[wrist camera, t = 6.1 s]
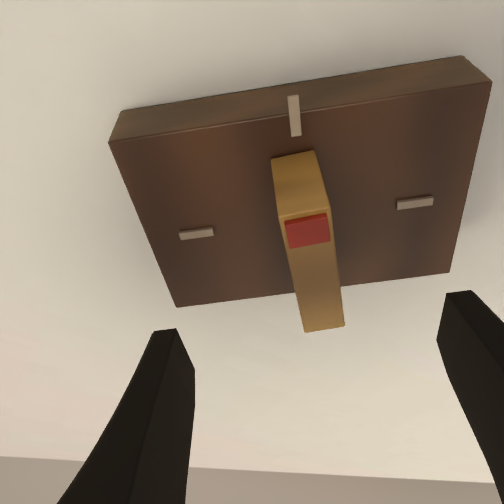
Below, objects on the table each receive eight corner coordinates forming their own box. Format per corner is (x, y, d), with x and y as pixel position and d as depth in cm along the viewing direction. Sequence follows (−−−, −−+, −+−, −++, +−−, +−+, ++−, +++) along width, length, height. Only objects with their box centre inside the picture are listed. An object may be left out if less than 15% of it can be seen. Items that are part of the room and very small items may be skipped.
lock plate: (466, 37, 16) (500, 63, 14) (430, 246, 22) (449, 284, 20) (114, 95, 16) (99, 128, 14) (183, 279, 23) (178, 318, 21)
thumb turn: (330, 266, 19) (346, 332, 17) (294, 272, 20) (305, 338, 17) (314, 148, 15) (332, 211, 13) (270, 158, 16) (278, 221, 13)
